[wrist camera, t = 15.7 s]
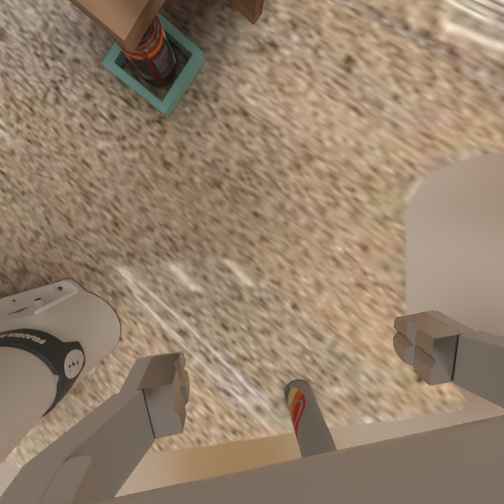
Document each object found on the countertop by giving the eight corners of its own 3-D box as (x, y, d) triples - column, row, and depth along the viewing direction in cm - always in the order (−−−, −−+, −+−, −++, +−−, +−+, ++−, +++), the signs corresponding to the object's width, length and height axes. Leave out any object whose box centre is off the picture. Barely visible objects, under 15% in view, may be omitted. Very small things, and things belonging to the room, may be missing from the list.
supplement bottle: (180, 50, 36) (157, -17, 25) (174, 93, 37) (149, 46, 26) (140, 38, 35) (98, -37, 24) (135, 81, 36) (92, 29, 25)
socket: (167, 118, 38) (164, 113, 36) (108, 71, 36) (101, 63, 34) (205, 60, 37) (204, 53, 35) (146, 8, 35) (141, -3, 33)
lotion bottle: (279, 391, 50) (308, 513, 31) (298, 374, 50) (341, 486, 30) (296, 406, 51) (336, 532, 32) (316, 389, 51) (368, 506, 31)
